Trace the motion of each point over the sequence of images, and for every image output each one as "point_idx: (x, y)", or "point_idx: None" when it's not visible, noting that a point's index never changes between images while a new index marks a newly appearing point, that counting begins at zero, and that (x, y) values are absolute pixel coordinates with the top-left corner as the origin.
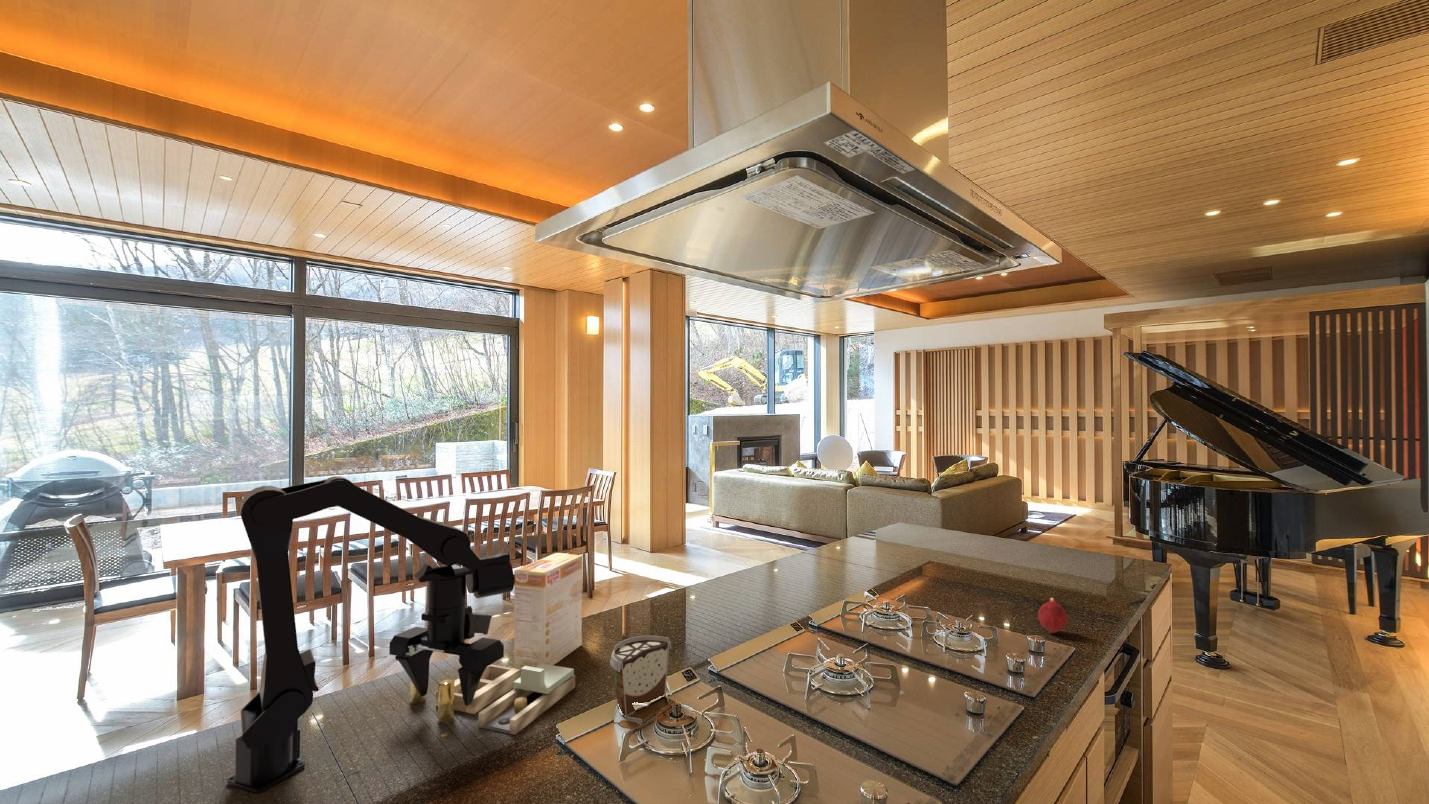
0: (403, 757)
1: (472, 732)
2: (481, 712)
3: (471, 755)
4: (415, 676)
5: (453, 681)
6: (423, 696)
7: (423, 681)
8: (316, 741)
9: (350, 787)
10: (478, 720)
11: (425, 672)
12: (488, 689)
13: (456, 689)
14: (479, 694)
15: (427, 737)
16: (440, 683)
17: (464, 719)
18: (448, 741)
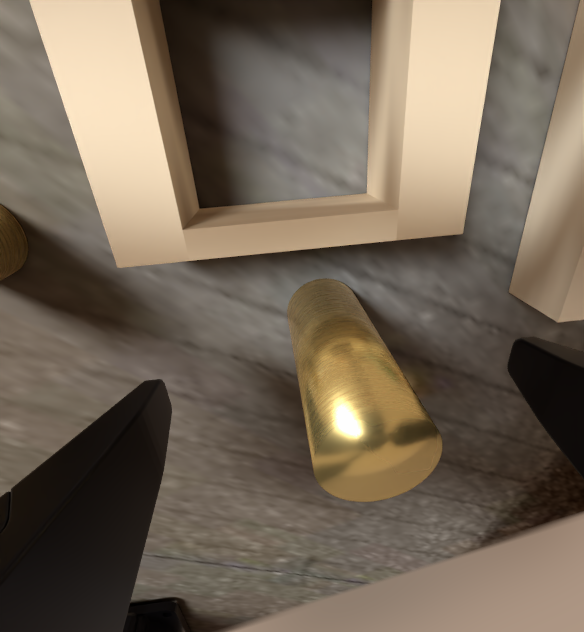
0: None
1: (504, 329)
2: (572, 313)
3: None
4: (124, 613)
5: (418, 422)
6: (4, 240)
7: (137, 483)
8: None
9: (350, 581)
10: (530, 305)
11: (90, 534)
12: (490, 47)
13: (165, 113)
14: (462, 163)
15: None
16: (339, 484)
17: (403, 271)
18: (448, 402)
